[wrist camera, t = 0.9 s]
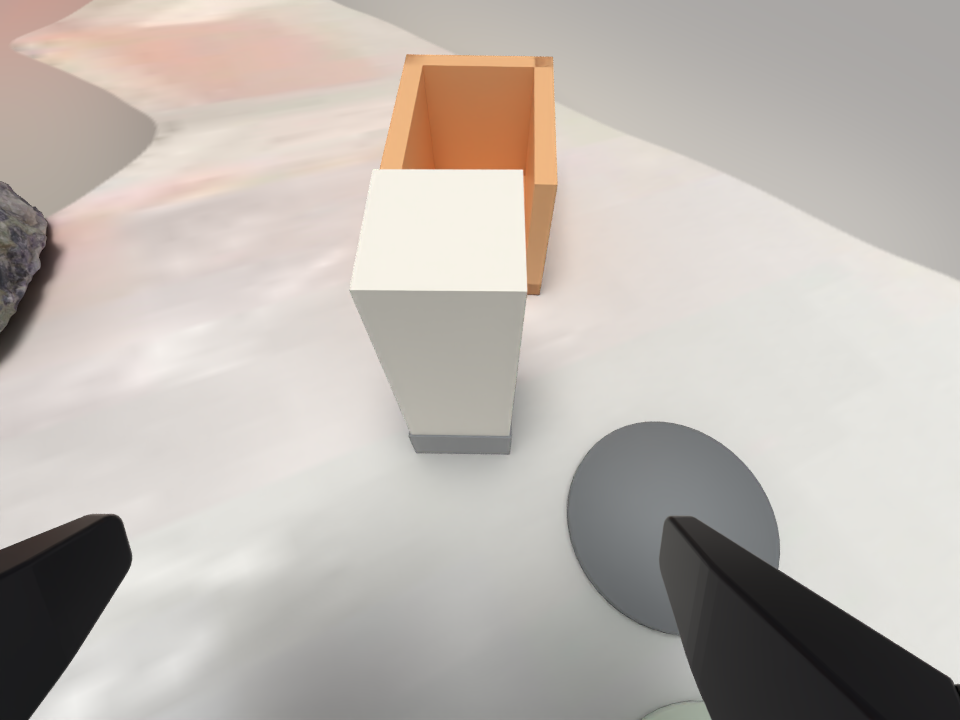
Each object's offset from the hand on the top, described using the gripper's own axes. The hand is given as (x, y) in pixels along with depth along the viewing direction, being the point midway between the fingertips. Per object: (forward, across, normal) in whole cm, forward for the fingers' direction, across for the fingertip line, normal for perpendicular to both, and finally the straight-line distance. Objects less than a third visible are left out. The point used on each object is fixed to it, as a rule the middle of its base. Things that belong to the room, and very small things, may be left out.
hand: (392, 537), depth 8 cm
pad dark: (+12, -10, +8) cm, 17 cm away
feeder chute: (+25, -1, -4) cm, 25 cm away
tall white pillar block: (+16, 0, +5) cm, 16 cm away
